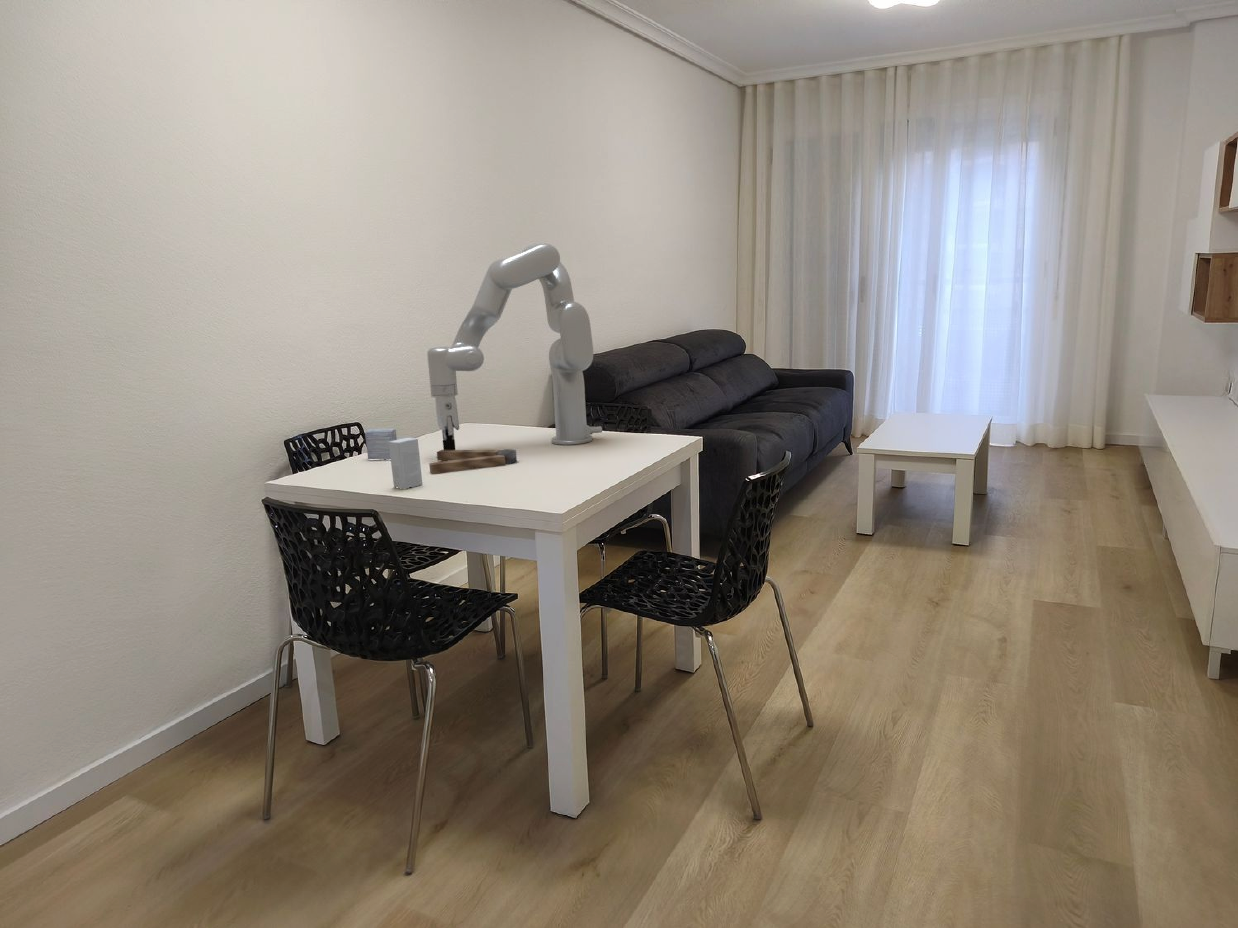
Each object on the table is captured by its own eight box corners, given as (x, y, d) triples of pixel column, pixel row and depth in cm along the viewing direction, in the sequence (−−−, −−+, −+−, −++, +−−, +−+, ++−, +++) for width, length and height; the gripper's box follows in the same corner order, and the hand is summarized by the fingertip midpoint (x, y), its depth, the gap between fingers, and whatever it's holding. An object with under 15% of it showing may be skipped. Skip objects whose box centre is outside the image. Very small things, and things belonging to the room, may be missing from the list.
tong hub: (514, 459, 248) (513, 448, 247) (519, 463, 242) (518, 452, 242) (428, 470, 240) (427, 458, 239) (431, 474, 234) (430, 462, 234)
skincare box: (412, 483, 225) (407, 437, 223) (423, 485, 222) (418, 438, 220) (392, 488, 221) (387, 441, 218) (403, 490, 218) (398, 442, 215)
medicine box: (399, 457, 260) (396, 428, 258) (394, 460, 256) (390, 431, 254) (373, 458, 261) (370, 429, 259) (367, 461, 257) (364, 431, 255)
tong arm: (500, 458, 249) (500, 449, 248) (496, 460, 246) (496, 452, 246) (442, 458, 254) (441, 449, 253) (437, 460, 251) (436, 451, 250)
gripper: (461, 392, 247) (467, 456, 251) (452, 386, 260) (458, 447, 264) (434, 394, 244) (440, 459, 248) (427, 389, 258) (432, 450, 262)
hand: (449, 453), depth 256 cm, fingers closed
